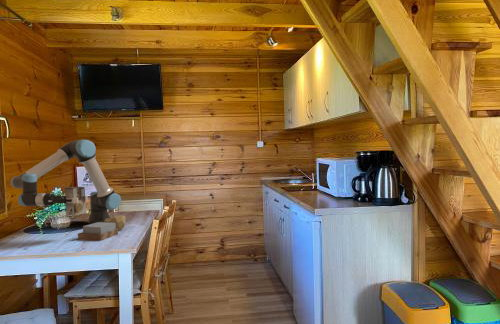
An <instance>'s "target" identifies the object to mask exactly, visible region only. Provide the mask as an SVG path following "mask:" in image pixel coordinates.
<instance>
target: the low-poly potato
mask: <svg viewBox="0 0 500 324" xmlns="http://www.w3.org/2000/svg"><path fill="white" fill-rule="evenodd" d="M104 222H106V223H115V224H116V229H118V232H120V231H122V230H124V228H125V227H126V226H125V225H126V215H116V216H113V217H110V218H106V219H105V221H104Z"/></svg>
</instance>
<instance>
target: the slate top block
mask: <svg viewBox="0 0 500 324" xmlns="http://www.w3.org/2000/svg"><path fill="white" fill-rule="evenodd" d="M115 229H116V224H115V223H106V222H97V223H93V224H90V223H89V224H86V225H83V226H82V232H83V233H91V234H103V233H106V232H109V231H112V230H115Z"/></svg>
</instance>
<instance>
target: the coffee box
mask: <svg viewBox="0 0 500 324" xmlns="http://www.w3.org/2000/svg"><path fill="white" fill-rule="evenodd" d="M85 190H86V189H85V186H73V187H72V186H71V187H66V188H65V190H64V191H65V195H64V196H66V198H78V203H67V202H66V204H65V213H66V216H71V217H72V216H73V217H75V216H78V215H82V214H83V215H84V214H87V213H86V211H87V209H86V200H85V196H86V191H85Z"/></svg>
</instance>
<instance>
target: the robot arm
mask: <svg viewBox="0 0 500 324" xmlns="http://www.w3.org/2000/svg"><path fill="white" fill-rule="evenodd" d="M96 151H97V148H96V146H95V143H94V142H92V141H91V140H89V139H75V140H71V141H69V142H68V143H65V144H64V145H63V146H61V147H59V148H58V149H57V151H56V152H55V153H53V154H51V155H50V156H49V157H47V158H45V159H43V160H42V161H41V162H39V163H37V164H35V165H33V167H31V168H30V169H28V170H27V171H25V172H23V173H22V174H20V175H17V176H16V175H15V176H13V177H12V178H11V180H10V185H11V186H12V187H13V188H15V189H18V190H19V189H21V190H22V193H20V194H19V195H18V197H17V203H18V205H19V206H20V207H21V206H22V207H40V208H42V207H53V206H54V205H55V204H62V205H63V204H64V205H66V202H67V203H78V198H66V195H55V194H54V193H51V192H42V193H38V179H39V178H41V177H42V176H44V175H46V174H47V173H48V172H50V171H52V170H53V169H54V168H56V167H58V166H59V165H61V164H63V162H68V161H69V160H71V159H74V158H76V160H77V161H78V162H79V163H80V164H82V165H83V166H84V169H85V171H86V173H87V174H88V177H89V179H90V180H91V182H92V184H93V186H94V187H95V190H96V191H91V192H90V193H89V200H90V202H89V203H90V205H89V206H90V207H89V208H90V214H89V217H88V220H87V221H88V222H87V223H88V224H89V225H90V224H93V223H97V222H104V221H105V219H106V218H111V217H110V214H109V211H111V210H113V211H114V210H116V209H117V208H119V207H120V206H121V203H122V197H121V195H120V194H118V193H116V192H115V190H114V188H113V187H111V186H110V185H109V183H108V181H107V179H106V177H105V175H104V173H103V171H102V169H101V167H100V165H99V163H98V161H97V159H96V157H97V154H96ZM85 201H88V195H85Z"/></svg>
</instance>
